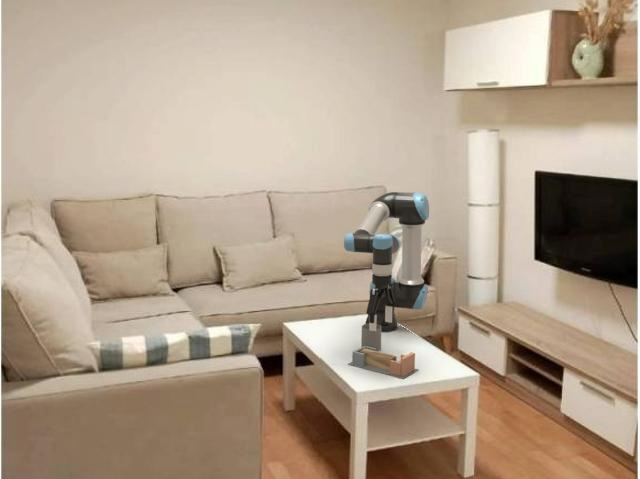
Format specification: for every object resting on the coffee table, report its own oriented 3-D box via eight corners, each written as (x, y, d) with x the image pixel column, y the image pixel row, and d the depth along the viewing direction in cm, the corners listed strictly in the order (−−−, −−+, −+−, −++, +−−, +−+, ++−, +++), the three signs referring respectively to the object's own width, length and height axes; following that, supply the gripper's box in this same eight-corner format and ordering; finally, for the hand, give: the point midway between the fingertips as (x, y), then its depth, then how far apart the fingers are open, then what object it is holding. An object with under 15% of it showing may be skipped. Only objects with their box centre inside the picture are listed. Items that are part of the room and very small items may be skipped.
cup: (379, 352, 313) (379, 330, 311) (360, 351, 315) (360, 328, 313) (381, 346, 321) (382, 324, 319) (363, 345, 323) (363, 323, 321)
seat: (364, 356, 308) (364, 344, 307) (418, 370, 293) (419, 357, 292) (347, 364, 299) (347, 352, 298) (403, 379, 284) (403, 365, 283)
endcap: (401, 366, 296) (402, 349, 295) (415, 369, 293) (415, 352, 291) (389, 373, 289) (390, 356, 287) (402, 376, 285) (403, 359, 284)
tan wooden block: (364, 360, 303) (364, 348, 302) (396, 368, 294) (396, 356, 294) (359, 362, 300) (359, 351, 299) (391, 370, 291) (391, 358, 290)
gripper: (387, 267, 302) (386, 317, 306) (358, 278, 281) (357, 332, 285) (404, 269, 298) (403, 320, 302) (375, 281, 277) (374, 335, 281)
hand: (380, 326), depth 294 cm, fingers open, 13 cm apart
